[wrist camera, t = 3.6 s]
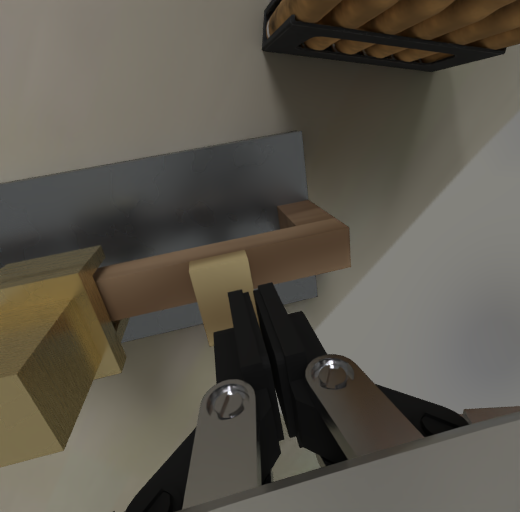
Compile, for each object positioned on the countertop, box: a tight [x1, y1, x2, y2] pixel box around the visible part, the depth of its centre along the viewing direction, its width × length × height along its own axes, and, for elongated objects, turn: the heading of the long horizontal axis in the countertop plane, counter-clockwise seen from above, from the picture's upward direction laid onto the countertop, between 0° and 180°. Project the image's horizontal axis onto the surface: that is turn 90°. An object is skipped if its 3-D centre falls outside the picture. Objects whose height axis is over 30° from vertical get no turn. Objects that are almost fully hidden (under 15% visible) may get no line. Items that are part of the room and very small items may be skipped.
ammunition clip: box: [262, 0, 520, 72], centre depth 12 cm, size 11×2×12 cm, turn 86°
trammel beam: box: [93, 200, 351, 347], centre depth 16 cm, size 4×30×7 cm, turn 99°
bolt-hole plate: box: [0, 131, 318, 343], centre depth 19 cm, size 11×30×1 cm, turn 99°
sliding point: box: [0, 245, 130, 467], centre depth 13 cm, size 5×4×11 cm
